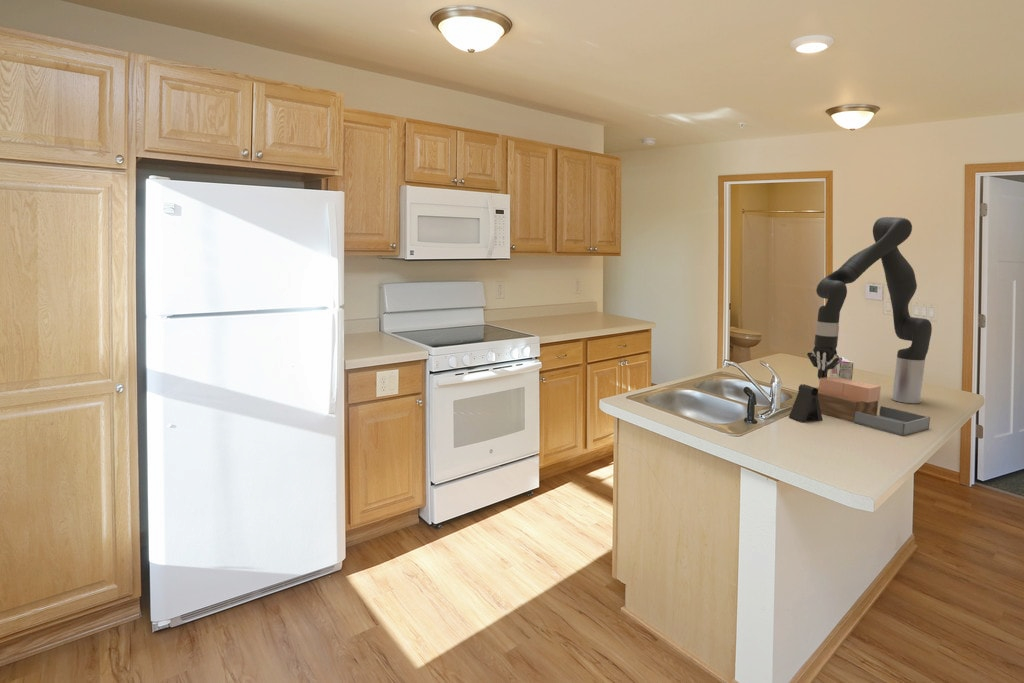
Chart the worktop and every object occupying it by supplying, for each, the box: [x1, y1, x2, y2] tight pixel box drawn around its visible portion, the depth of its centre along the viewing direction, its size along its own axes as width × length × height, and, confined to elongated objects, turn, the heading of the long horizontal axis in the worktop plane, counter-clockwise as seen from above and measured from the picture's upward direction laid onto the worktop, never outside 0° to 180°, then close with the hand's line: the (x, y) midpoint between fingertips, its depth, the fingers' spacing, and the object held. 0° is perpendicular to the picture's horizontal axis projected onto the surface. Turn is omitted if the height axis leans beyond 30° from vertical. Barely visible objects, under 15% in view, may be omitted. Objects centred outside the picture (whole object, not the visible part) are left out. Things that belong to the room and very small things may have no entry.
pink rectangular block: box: [818, 375, 854, 397], centre depth 213 cm, size 7×9×5 cm
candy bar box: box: [829, 356, 854, 381], centre depth 230 cm, size 11×5×16 cm, turn 168°
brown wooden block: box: [815, 386, 879, 423], centre depth 213 cm, size 14×20×7 cm
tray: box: [853, 405, 931, 437], centre depth 197 cm, size 16×16×4 cm
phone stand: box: [788, 383, 823, 423], centre depth 203 cm, size 9×6×12 cm, turn 104°
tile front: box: [842, 380, 882, 403], centre depth 205 cm, size 7×9×5 cm
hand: (821, 379), depth 218 cm, fingers closed
